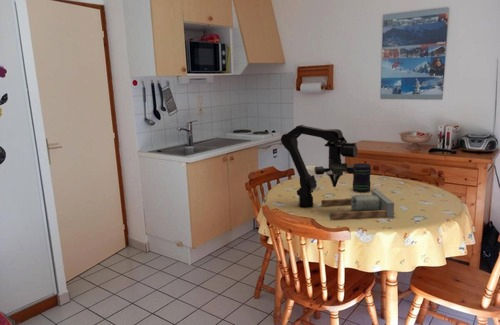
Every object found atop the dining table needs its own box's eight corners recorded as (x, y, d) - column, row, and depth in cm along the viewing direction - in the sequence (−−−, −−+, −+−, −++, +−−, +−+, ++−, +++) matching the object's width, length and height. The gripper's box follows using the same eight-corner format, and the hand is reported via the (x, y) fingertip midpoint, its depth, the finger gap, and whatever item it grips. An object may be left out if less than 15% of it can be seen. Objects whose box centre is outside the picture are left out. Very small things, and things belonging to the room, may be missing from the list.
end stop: (387, 217, 177) (387, 203, 175) (371, 202, 198) (371, 189, 197) (393, 217, 177) (394, 202, 175) (377, 202, 198) (377, 189, 197)
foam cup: (321, 190, 223) (321, 169, 221) (305, 191, 224) (305, 169, 221) (318, 186, 233) (318, 165, 230) (303, 186, 233) (303, 166, 230)
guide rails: (330, 219, 177) (330, 213, 176) (321, 205, 197) (321, 200, 197) (386, 217, 177) (387, 211, 177) (371, 203, 198) (371, 197, 197)
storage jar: (368, 188, 225) (369, 163, 222) (372, 192, 215) (372, 166, 212) (351, 188, 226) (351, 163, 223) (354, 193, 216) (354, 167, 213)
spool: (349, 207, 182) (354, 188, 184) (347, 210, 191) (352, 191, 193) (378, 216, 179) (383, 195, 181) (375, 218, 188) (380, 199, 190)
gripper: (318, 159, 176) (318, 192, 180) (358, 158, 176) (357, 191, 179) (314, 155, 187) (314, 186, 190) (352, 153, 187) (351, 184, 190)
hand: (334, 187), depth 187 cm, fingers closed
